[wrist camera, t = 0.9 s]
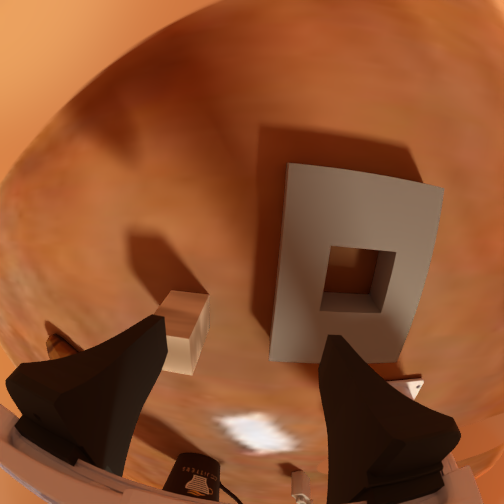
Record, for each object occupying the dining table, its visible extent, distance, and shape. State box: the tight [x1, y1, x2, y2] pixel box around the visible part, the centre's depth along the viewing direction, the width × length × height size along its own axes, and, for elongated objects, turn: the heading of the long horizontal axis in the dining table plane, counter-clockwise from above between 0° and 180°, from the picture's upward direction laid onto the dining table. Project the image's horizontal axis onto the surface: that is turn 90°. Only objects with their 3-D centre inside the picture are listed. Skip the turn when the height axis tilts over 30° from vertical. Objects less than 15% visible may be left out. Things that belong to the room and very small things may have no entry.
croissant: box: [46, 334, 78, 360], centre depth 25 cm, size 14×7×5 cm, turn 33°
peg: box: [154, 290, 210, 375], centre depth 20 cm, size 3×3×6 cm
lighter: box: [291, 470, 313, 504], centre depth 28 cm, size 7×2×8 cm, turn 24°
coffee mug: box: [162, 453, 243, 504], centre depth 27 cm, size 12×9×10 cm
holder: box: [269, 163, 444, 363], centre depth 19 cm, size 14×11×3 cm
